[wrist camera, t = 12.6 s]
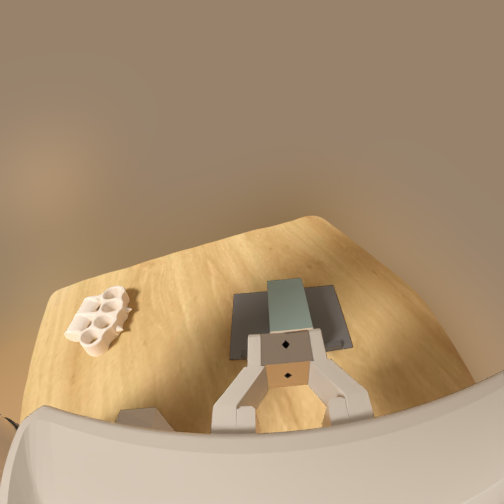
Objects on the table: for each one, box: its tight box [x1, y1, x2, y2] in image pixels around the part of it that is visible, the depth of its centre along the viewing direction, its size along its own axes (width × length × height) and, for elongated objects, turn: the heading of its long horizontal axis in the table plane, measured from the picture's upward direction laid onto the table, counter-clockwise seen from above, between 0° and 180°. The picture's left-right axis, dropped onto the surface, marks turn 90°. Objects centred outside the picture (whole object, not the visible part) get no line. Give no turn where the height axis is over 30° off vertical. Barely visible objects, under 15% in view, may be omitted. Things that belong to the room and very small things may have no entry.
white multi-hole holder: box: [65, 286, 132, 356], centre depth 52 cm, size 3×18×15 cm
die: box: [115, 407, 175, 431], centre depth 28 cm, size 8×9×10 cm
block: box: [267, 278, 313, 333], centre depth 44 cm, size 6×6×14 cm
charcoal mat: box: [230, 285, 353, 360], centre depth 49 cm, size 20×16×1 cm
